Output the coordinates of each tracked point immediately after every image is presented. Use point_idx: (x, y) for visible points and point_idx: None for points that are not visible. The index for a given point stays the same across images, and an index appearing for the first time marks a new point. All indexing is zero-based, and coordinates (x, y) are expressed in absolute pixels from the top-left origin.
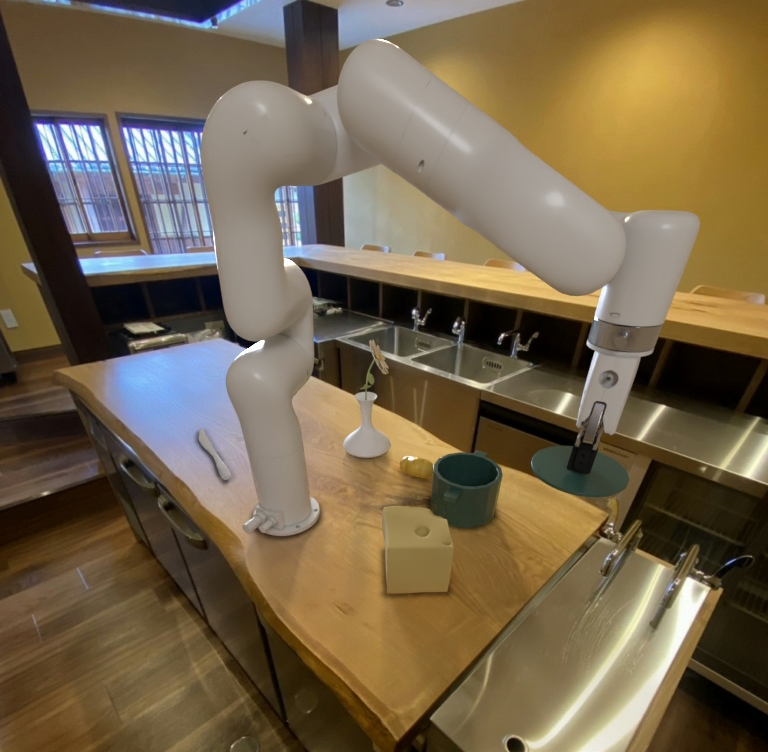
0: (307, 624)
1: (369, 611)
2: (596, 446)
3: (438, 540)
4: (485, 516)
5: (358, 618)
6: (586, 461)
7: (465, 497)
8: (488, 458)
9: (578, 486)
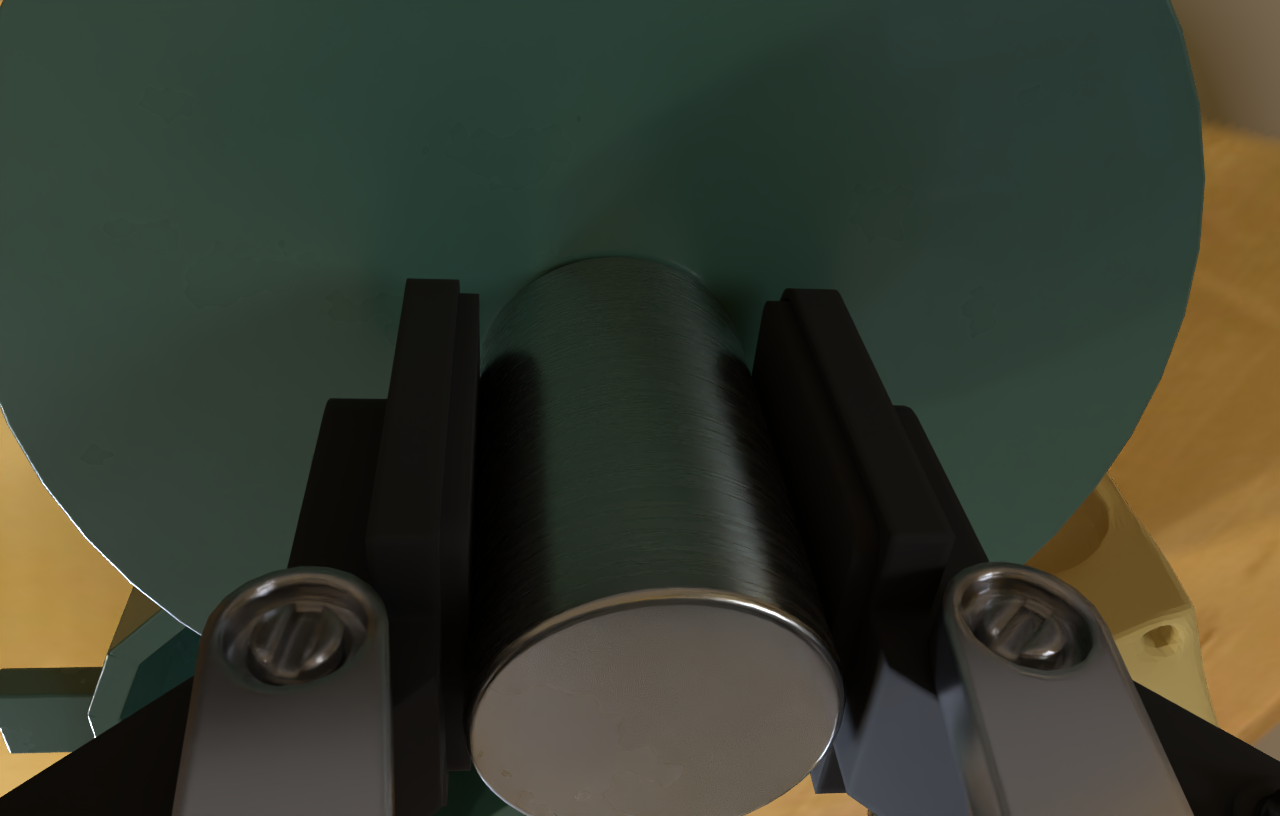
0: (1268, 693)
1: (1192, 583)
2: (1117, 669)
3: (1150, 673)
4: None
5: (1229, 597)
6: (945, 489)
7: None
8: (102, 690)
9: (1049, 328)
